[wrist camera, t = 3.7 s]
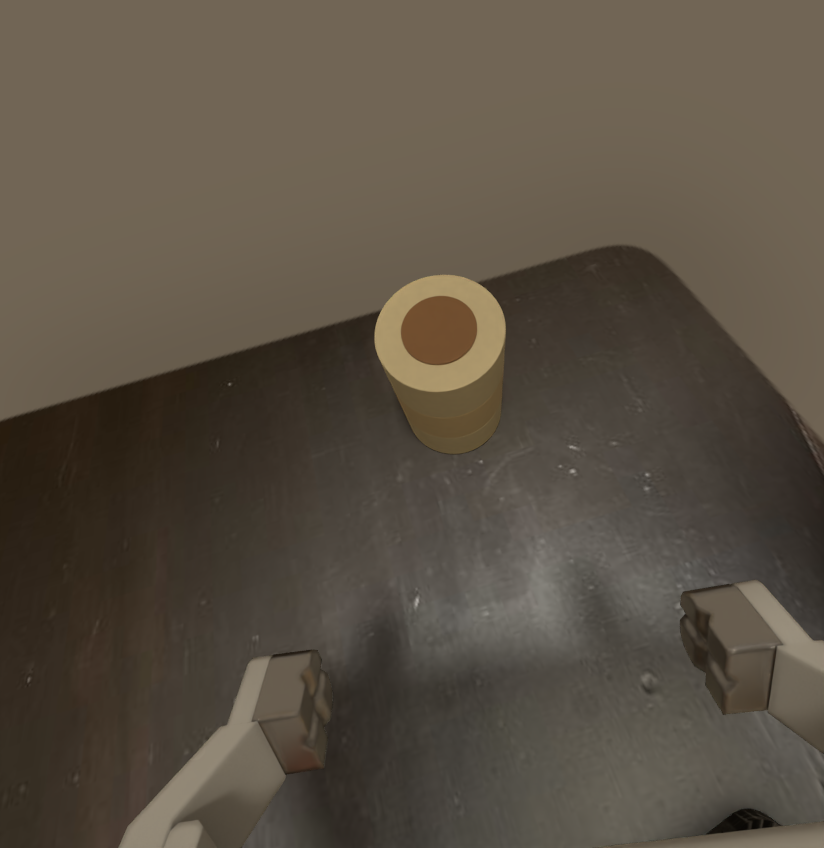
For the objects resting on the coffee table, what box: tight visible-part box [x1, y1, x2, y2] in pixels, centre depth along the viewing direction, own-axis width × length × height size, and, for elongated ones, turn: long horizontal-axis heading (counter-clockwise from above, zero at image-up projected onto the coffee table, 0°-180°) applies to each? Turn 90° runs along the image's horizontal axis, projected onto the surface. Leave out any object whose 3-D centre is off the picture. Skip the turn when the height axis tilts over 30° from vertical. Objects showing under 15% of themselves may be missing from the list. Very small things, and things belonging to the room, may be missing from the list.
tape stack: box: [375, 275, 506, 454], centre depth 24 cm, size 5×5×9 cm
